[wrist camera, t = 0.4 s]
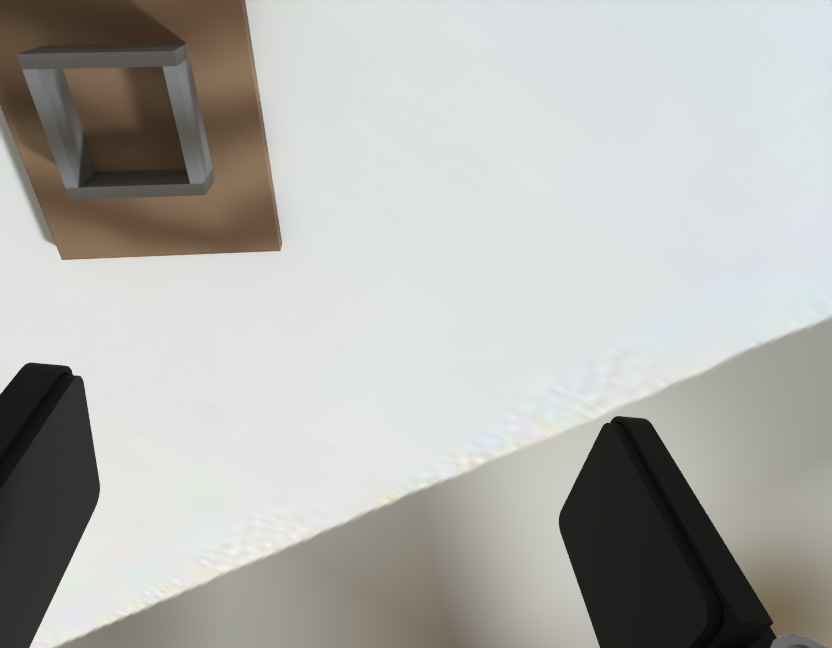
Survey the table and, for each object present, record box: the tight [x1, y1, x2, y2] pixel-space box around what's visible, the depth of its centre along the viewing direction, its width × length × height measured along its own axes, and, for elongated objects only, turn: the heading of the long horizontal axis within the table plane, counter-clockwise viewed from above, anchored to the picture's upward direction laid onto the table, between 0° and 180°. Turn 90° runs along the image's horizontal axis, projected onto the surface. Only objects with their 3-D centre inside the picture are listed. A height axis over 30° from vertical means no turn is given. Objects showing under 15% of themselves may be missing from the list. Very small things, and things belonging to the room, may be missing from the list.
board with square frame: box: [0, 0, 282, 260], centre depth 36 cm, size 20×16×4 cm
